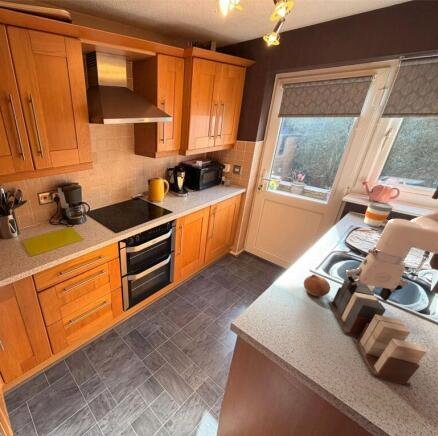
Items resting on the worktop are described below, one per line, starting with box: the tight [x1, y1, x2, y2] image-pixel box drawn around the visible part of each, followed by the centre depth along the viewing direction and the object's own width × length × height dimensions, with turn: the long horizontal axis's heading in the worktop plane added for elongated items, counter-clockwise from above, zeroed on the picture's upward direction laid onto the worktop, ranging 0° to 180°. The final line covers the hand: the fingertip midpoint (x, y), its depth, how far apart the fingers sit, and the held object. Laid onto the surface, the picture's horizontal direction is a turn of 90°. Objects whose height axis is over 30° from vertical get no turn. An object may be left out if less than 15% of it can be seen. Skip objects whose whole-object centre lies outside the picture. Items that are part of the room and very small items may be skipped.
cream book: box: [342, 292, 380, 322], centre depth 86 cm, size 6×2×13 cm, turn 72°
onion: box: [303, 273, 331, 298], centre depth 102 cm, size 10×9×10 cm
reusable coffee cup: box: [363, 201, 393, 227], centre depth 166 cm, size 13×13×15 cm
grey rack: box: [328, 278, 387, 338], centre depth 88 cm, size 9×16×14 cm, turn 162°
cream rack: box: [353, 314, 427, 386], centre depth 73 cm, size 9×13×14 cm
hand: (366, 294), depth 83 cm, fingers open, 9 cm apart
